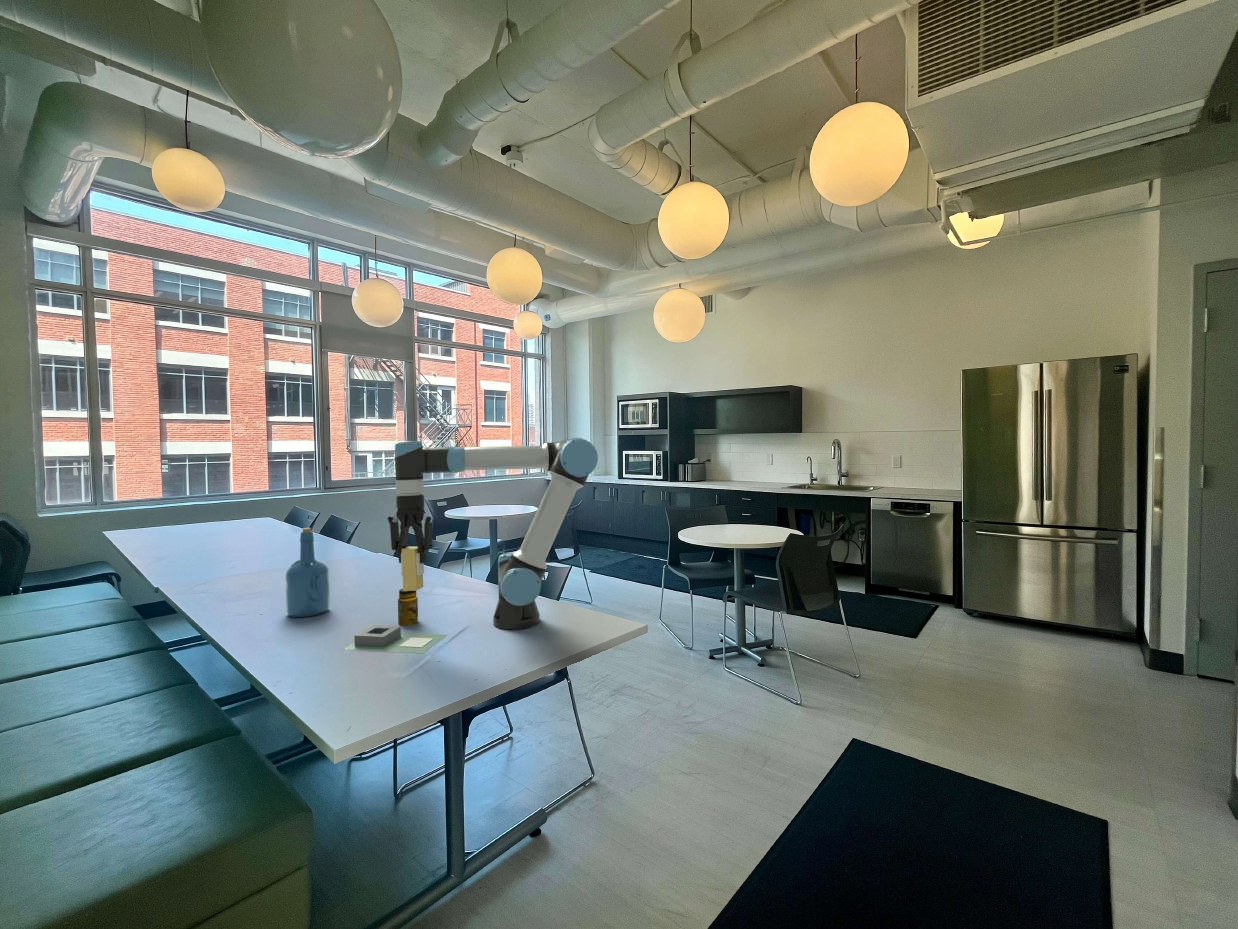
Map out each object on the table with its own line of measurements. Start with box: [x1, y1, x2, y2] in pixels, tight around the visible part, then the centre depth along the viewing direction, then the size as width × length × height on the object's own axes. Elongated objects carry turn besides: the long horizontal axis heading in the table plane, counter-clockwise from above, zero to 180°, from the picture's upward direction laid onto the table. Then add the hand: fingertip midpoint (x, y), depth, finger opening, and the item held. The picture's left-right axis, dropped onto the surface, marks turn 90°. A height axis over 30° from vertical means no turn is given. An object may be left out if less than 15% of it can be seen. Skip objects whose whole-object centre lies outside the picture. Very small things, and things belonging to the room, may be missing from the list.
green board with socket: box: [343, 624, 448, 655], centre depth 156 cm, size 24×15×4 cm, turn 82°
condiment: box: [397, 588, 419, 626], centre depth 173 cm, size 7×8×12 cm
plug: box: [401, 546, 424, 592], centre depth 154 cm, size 4×4×12 cm
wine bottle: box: [285, 527, 331, 618], centre depth 187 cm, size 14×13×30 cm
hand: (412, 574), depth 154 cm, fingers closed on plug, 4 cm apart
